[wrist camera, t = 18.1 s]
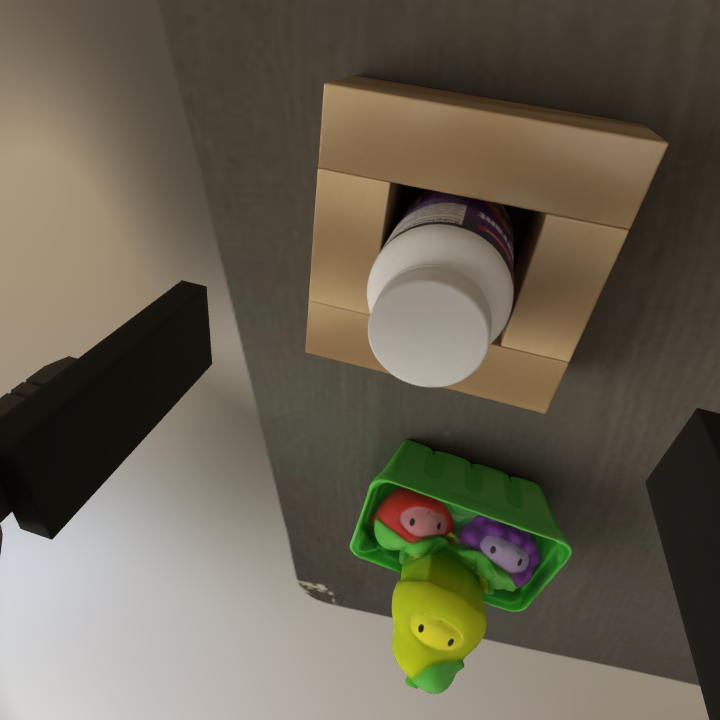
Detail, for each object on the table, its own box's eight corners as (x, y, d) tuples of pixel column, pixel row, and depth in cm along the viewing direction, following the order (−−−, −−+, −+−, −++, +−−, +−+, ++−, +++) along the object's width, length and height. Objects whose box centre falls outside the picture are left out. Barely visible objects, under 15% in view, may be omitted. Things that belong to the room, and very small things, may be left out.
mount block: (352, 74, 21) (323, 82, 18) (644, 124, 19) (670, 142, 16) (329, 315, 28) (304, 352, 25) (542, 367, 26) (546, 414, 23)
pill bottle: (523, 276, 24) (526, 395, 16) (417, 297, 26) (374, 413, 18) (501, 163, 21) (494, 239, 14) (386, 197, 23) (322, 280, 16)
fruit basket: (570, 477, 30) (595, 672, 21) (514, 557, 35) (513, 741, 26) (392, 416, 31) (340, 577, 22) (362, 503, 36) (311, 661, 27)
